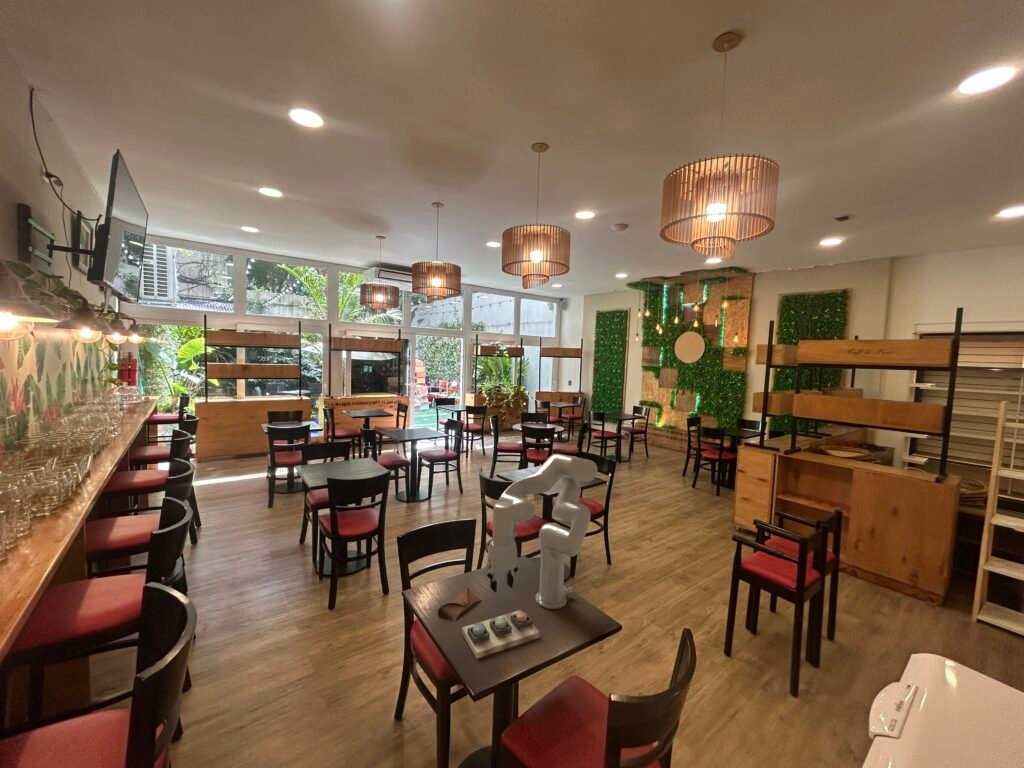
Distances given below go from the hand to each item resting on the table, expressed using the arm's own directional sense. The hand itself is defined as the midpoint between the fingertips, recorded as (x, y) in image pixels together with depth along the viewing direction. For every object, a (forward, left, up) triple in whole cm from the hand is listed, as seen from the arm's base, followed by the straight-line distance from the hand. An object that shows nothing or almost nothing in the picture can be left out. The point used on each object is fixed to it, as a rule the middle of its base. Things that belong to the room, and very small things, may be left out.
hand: (501, 587), depth 146 cm
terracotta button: (-9, 0, -15) cm, 17 cm away
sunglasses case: (+7, -21, -18) cm, 29 cm away
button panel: (0, 0, -18) cm, 18 cm away
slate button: (+8, 0, -15) cm, 17 cm away
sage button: (0, 0, -15) cm, 15 cm away
